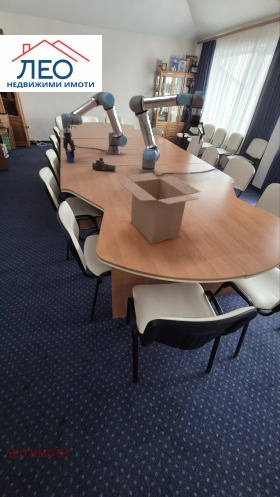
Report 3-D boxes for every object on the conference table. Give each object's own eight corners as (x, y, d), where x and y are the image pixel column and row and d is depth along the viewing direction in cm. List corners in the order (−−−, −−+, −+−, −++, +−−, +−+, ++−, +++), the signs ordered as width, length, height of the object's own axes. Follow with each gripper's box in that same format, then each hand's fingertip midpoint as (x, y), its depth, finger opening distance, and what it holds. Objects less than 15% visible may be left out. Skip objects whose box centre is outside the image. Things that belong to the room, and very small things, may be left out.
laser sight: (113, 173, 208) (113, 162, 203) (90, 170, 211) (89, 159, 205) (116, 170, 216) (116, 159, 210) (94, 167, 219) (93, 157, 213)
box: (200, 241, 124) (213, 195, 108) (145, 257, 109) (150, 207, 93) (159, 208, 154) (164, 169, 138) (112, 217, 139) (111, 174, 123)
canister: (70, 160, 233) (69, 149, 226) (75, 162, 231) (74, 150, 224) (65, 162, 228) (64, 150, 221) (71, 163, 225) (69, 151, 218)
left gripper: (57, 130, 215) (60, 155, 229) (71, 134, 205) (74, 159, 218) (63, 130, 220) (66, 154, 233) (77, 133, 210) (80, 158, 223)
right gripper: (211, 115, 180) (205, 143, 193) (180, 112, 183) (176, 140, 196) (212, 116, 174) (205, 145, 187) (180, 113, 177) (176, 142, 190)
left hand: (70, 156), depth 226 cm, fingers open, 9 cm apart
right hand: (190, 142), depth 191 cm, fingers open, 13 cm apart
